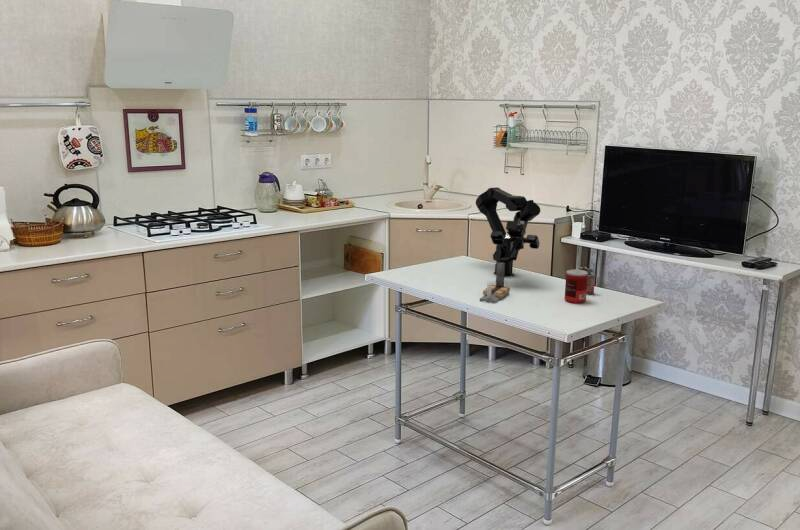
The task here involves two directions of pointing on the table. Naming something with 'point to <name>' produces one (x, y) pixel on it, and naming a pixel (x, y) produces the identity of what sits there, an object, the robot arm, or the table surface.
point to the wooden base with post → (499, 282)
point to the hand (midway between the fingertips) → (509, 257)
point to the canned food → (576, 286)
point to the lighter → (589, 280)
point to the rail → (491, 295)
